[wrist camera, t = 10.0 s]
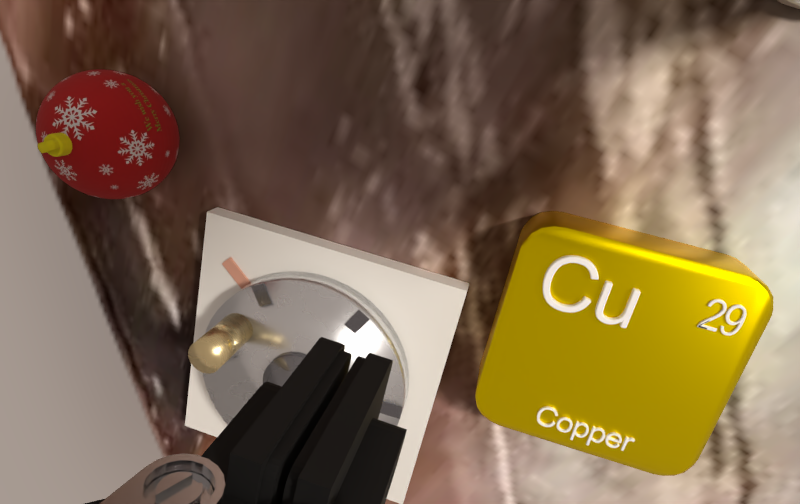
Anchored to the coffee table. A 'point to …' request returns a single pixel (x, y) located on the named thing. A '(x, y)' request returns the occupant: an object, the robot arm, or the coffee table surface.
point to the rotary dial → (292, 338)
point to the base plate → (364, 272)
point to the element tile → (619, 341)
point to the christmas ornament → (107, 134)
